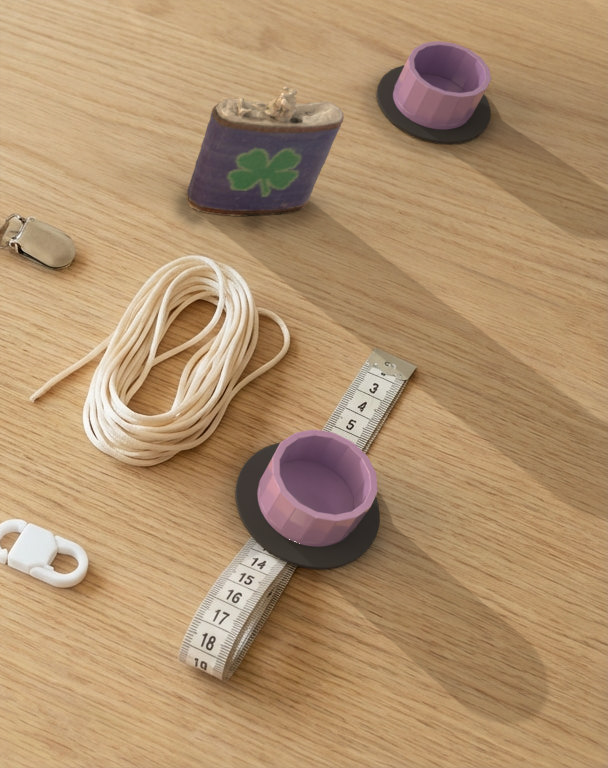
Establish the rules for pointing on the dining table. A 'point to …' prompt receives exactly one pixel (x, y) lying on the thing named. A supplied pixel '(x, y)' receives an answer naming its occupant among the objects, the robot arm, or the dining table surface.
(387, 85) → the coaster back
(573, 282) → the dining table surface
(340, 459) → the dish
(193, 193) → the flask
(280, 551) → the disc
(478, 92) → the dish
